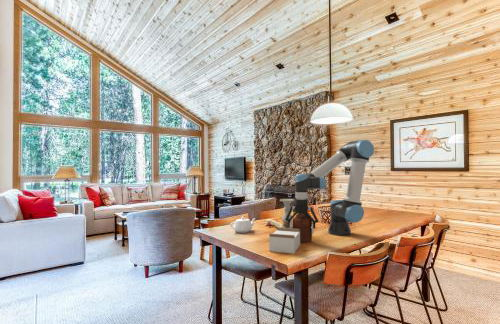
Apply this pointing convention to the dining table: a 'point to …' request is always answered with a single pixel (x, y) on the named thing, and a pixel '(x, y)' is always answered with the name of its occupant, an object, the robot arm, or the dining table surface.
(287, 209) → the candle holder
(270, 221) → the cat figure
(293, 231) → the display plinth
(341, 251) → the dining table surface
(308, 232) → the wooden figurine
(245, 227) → the teapot
